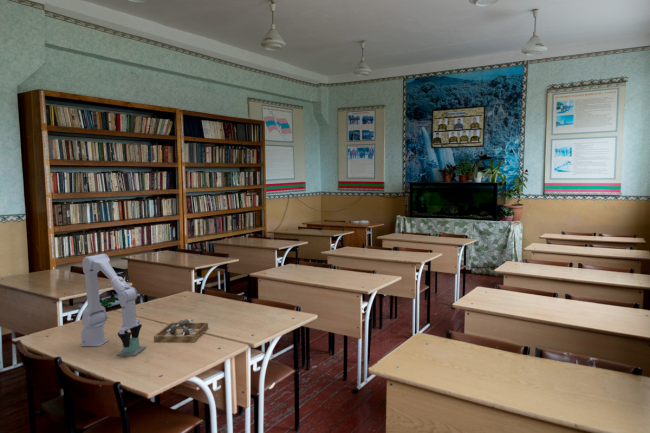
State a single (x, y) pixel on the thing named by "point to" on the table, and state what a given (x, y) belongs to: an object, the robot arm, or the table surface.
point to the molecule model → (181, 324)
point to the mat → (131, 353)
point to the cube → (132, 346)
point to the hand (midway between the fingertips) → (130, 343)
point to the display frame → (161, 338)
